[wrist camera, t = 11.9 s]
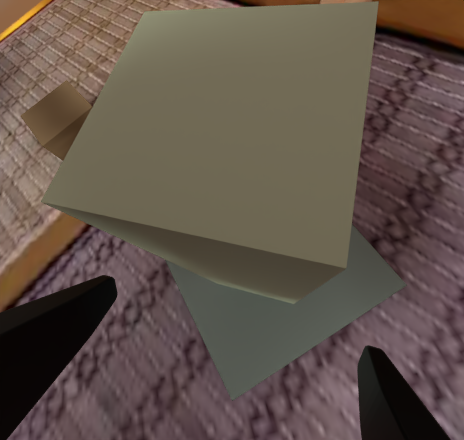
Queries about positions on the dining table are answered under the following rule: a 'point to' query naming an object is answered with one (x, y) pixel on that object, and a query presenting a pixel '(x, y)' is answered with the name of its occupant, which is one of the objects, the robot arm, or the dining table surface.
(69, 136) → the walnut block
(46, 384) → the robot arm
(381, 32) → the dining table surface
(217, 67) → the sage block
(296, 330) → the slate mat
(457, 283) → the dining table surface
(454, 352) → the dining table surface
